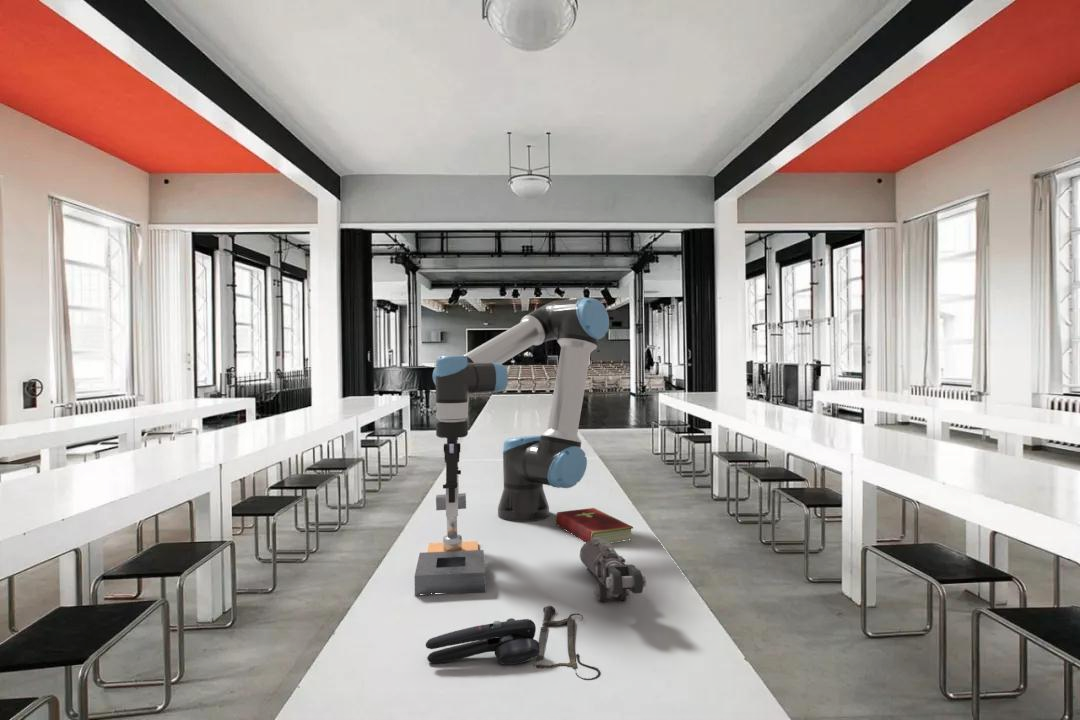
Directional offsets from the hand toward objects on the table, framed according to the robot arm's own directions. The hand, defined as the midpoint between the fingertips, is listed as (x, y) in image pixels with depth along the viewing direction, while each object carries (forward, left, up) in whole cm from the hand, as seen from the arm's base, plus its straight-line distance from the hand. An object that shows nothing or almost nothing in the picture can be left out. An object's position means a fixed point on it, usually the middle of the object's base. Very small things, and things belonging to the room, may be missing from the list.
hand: (452, 508), depth 147 cm
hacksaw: (-20, +48, -11) cm, 53 cm away
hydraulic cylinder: (-32, +27, -11) cm, 43 cm away
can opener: (-6, +52, -11) cm, 53 cm away
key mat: (0, 0, -11) cm, 11 cm away
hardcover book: (-37, -12, -11) cm, 40 cm away
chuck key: (0, 0, -10) cm, 10 cm away
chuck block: (0, +18, -11) cm, 21 cm away
